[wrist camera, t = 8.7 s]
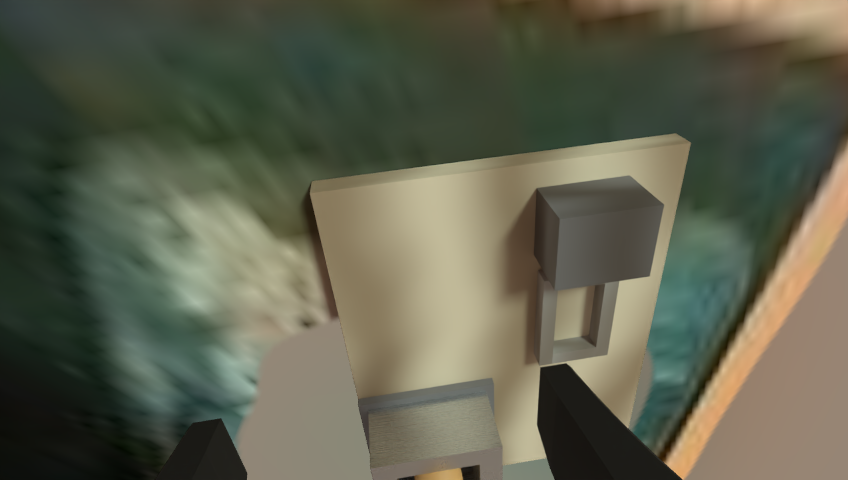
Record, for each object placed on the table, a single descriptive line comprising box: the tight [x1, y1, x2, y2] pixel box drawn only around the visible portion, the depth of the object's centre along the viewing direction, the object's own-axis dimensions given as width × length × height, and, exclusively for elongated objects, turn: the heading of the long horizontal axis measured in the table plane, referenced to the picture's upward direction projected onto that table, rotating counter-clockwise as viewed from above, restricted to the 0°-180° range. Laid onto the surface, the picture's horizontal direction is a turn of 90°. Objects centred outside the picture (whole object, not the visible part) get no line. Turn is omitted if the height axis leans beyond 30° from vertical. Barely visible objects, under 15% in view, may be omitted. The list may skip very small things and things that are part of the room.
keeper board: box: [310, 134, 691, 465], centre depth 22 cm, size 14×18×3 cm
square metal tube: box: [368, 391, 503, 480], centre depth 23 cm, size 6×6×3 cm
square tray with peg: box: [358, 378, 494, 480], centre depth 23 cm, size 6×6×5 cm
